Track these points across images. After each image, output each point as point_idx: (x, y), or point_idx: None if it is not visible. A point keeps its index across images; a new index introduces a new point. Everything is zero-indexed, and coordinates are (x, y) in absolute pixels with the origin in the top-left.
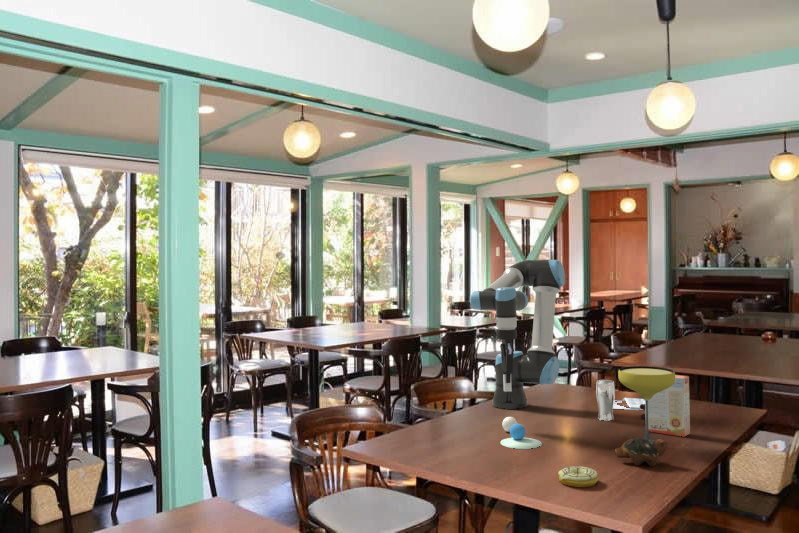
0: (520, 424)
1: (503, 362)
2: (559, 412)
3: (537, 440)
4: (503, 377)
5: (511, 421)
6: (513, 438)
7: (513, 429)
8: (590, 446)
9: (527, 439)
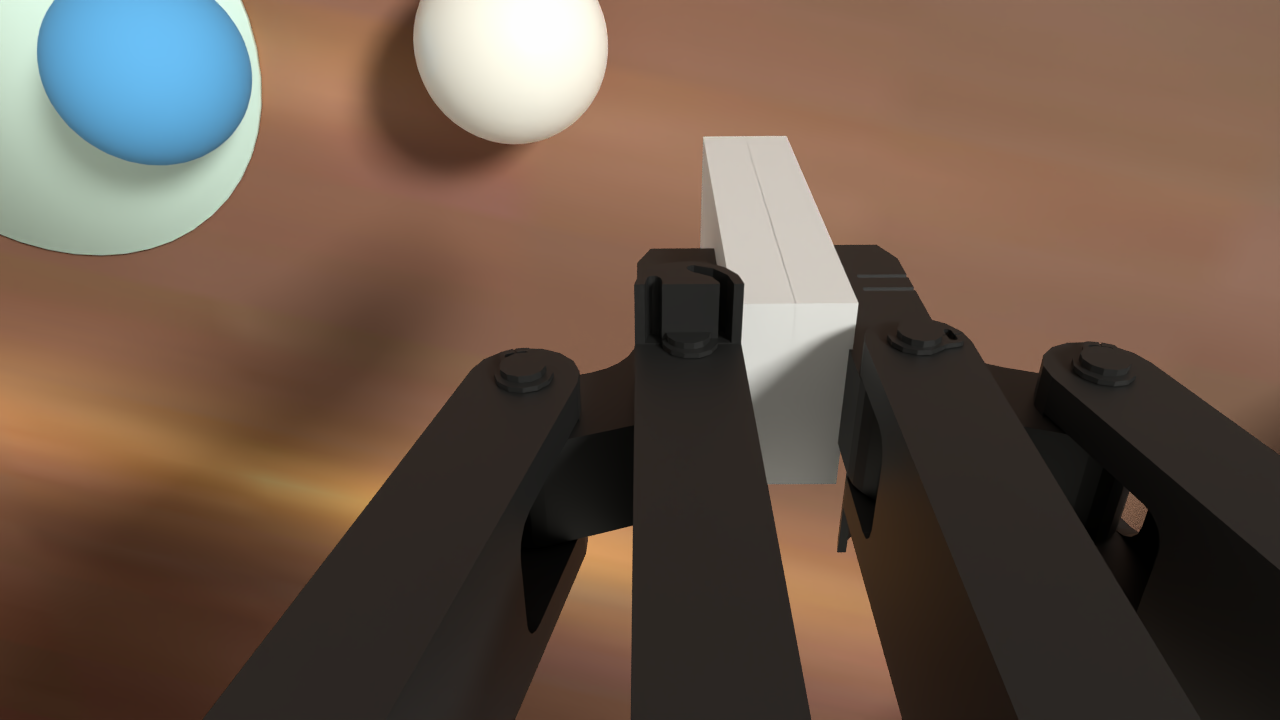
0: (114, 130)
1: (970, 558)
2: None
3: (158, 236)
4: (825, 252)
5: (425, 66)
6: None
7: (47, 11)
8: (71, 571)
9: None
